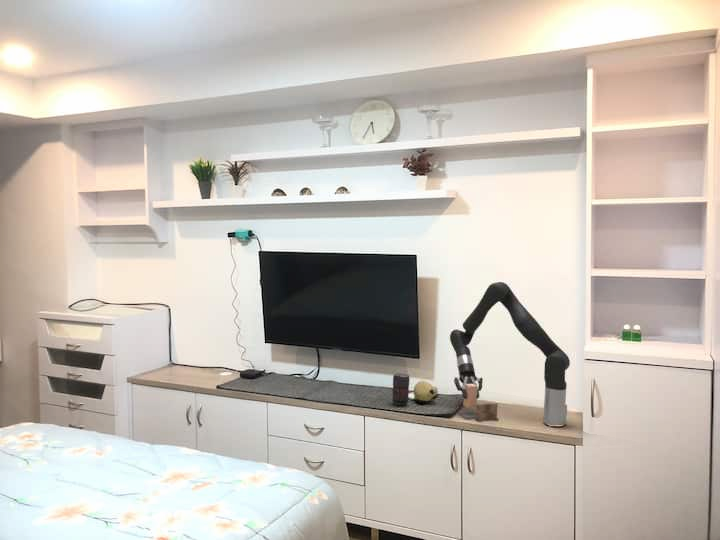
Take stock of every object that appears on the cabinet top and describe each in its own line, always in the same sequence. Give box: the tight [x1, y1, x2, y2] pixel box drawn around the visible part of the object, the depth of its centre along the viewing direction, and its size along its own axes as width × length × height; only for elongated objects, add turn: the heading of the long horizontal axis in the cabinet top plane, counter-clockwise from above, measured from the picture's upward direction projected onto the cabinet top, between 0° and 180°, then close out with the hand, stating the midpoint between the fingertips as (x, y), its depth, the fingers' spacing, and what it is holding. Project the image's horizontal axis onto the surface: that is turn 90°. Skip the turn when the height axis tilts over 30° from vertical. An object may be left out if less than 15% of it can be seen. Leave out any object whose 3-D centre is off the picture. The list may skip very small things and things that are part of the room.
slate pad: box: [457, 410, 476, 420], centre depth 279 cm, size 8×8×1 cm
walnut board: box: [474, 402, 499, 423], centre depth 274 cm, size 10×4×8 cm, turn 106°
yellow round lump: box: [413, 380, 439, 402], centre depth 298 cm, size 10×12×11 cm
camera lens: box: [391, 372, 410, 408], centre depth 292 cm, size 8×8×15 cm
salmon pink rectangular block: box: [462, 384, 479, 408], centre depth 278 cm, size 4×4×10 cm
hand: (471, 398), depth 276 cm, fingers closed on salmon pink rectangular block, 5 cm apart
